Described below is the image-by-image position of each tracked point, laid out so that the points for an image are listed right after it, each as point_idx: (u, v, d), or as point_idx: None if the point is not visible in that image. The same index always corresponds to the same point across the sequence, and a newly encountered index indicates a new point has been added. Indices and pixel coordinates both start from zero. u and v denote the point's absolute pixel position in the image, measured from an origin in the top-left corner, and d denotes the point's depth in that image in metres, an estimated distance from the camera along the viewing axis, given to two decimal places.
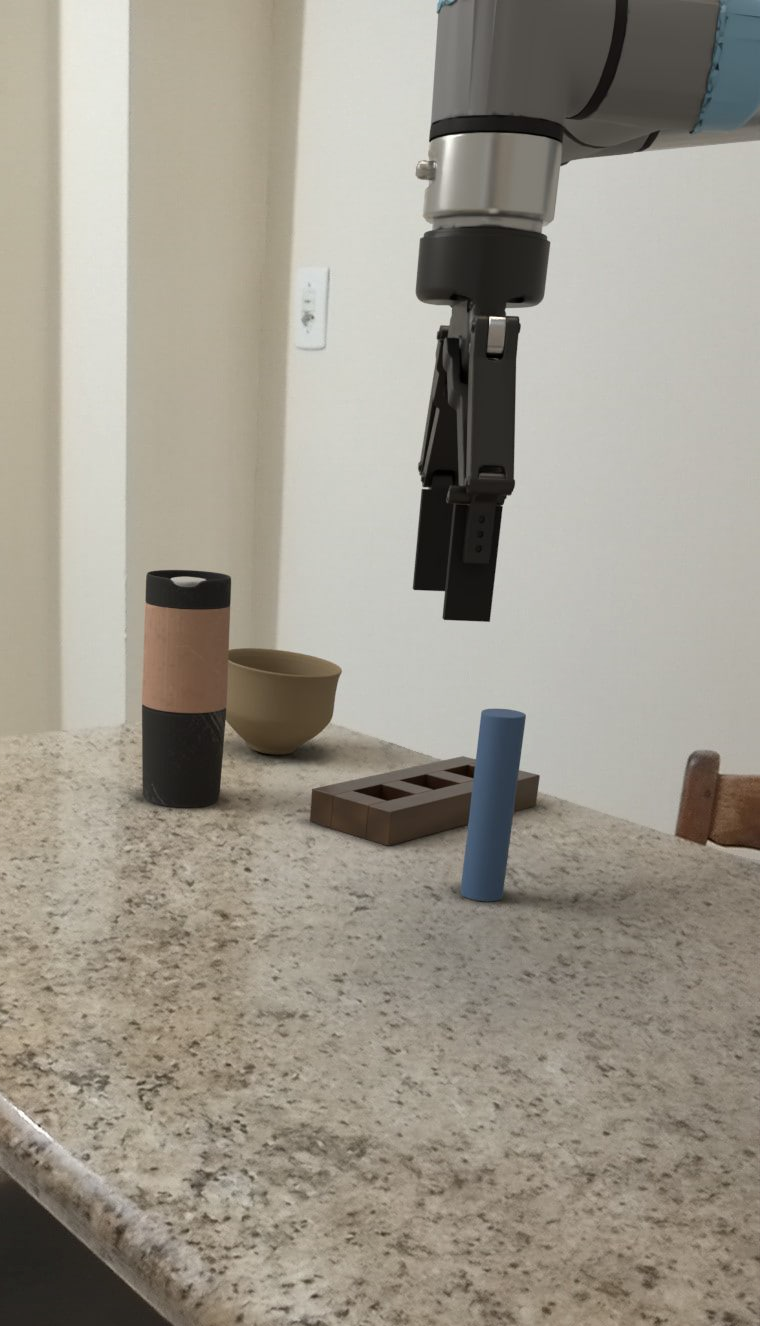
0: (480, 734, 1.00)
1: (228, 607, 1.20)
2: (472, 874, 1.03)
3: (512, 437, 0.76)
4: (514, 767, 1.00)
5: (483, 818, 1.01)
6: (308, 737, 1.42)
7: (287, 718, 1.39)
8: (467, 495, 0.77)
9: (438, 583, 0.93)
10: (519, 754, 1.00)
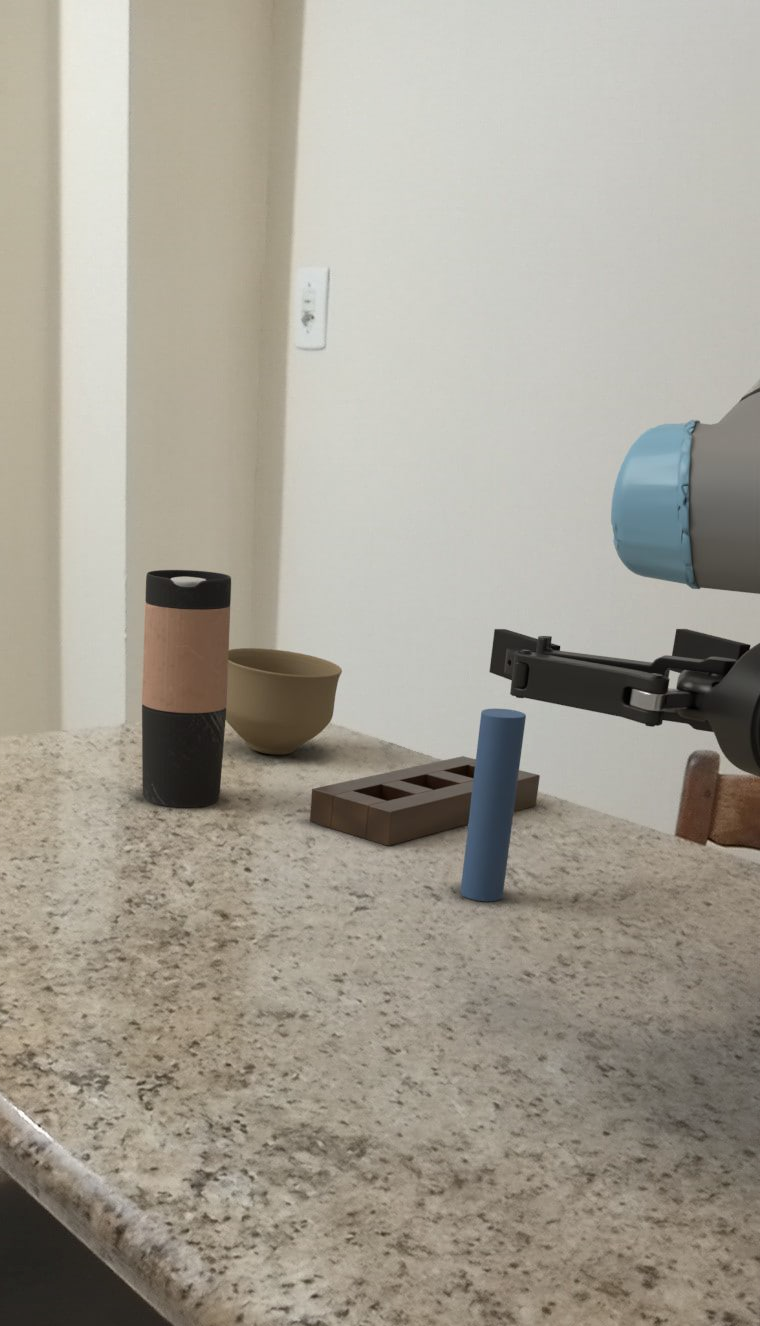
0: (480, 734, 1.00)
1: (228, 607, 1.20)
2: (472, 874, 1.03)
3: None
4: (514, 767, 1.00)
5: (483, 818, 1.01)
6: (308, 737, 1.42)
7: (287, 718, 1.39)
8: None
9: None
10: (519, 754, 1.00)
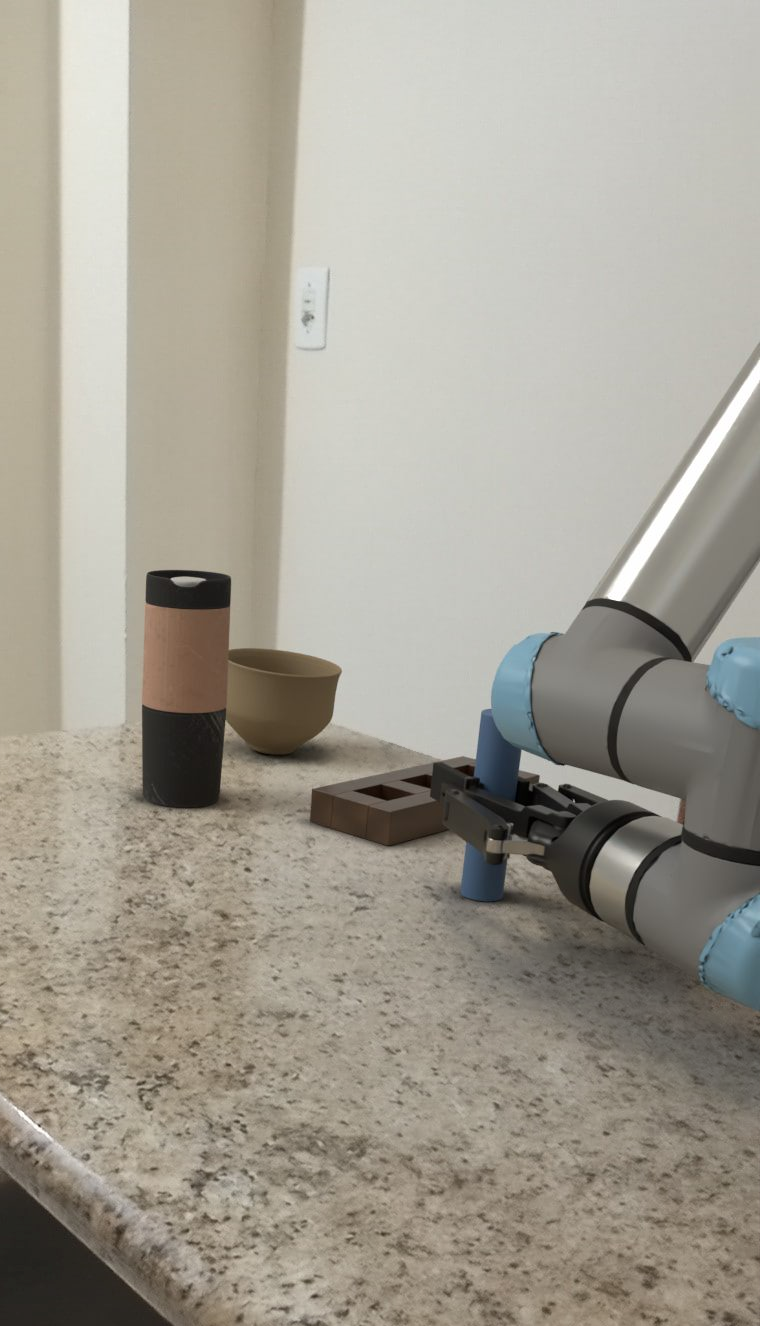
0: (480, 734, 1.00)
1: (228, 607, 1.20)
2: (472, 874, 1.03)
3: None
4: (514, 767, 1.00)
5: None
6: (308, 737, 1.42)
7: (287, 718, 1.39)
8: None
9: None
10: (519, 754, 1.00)
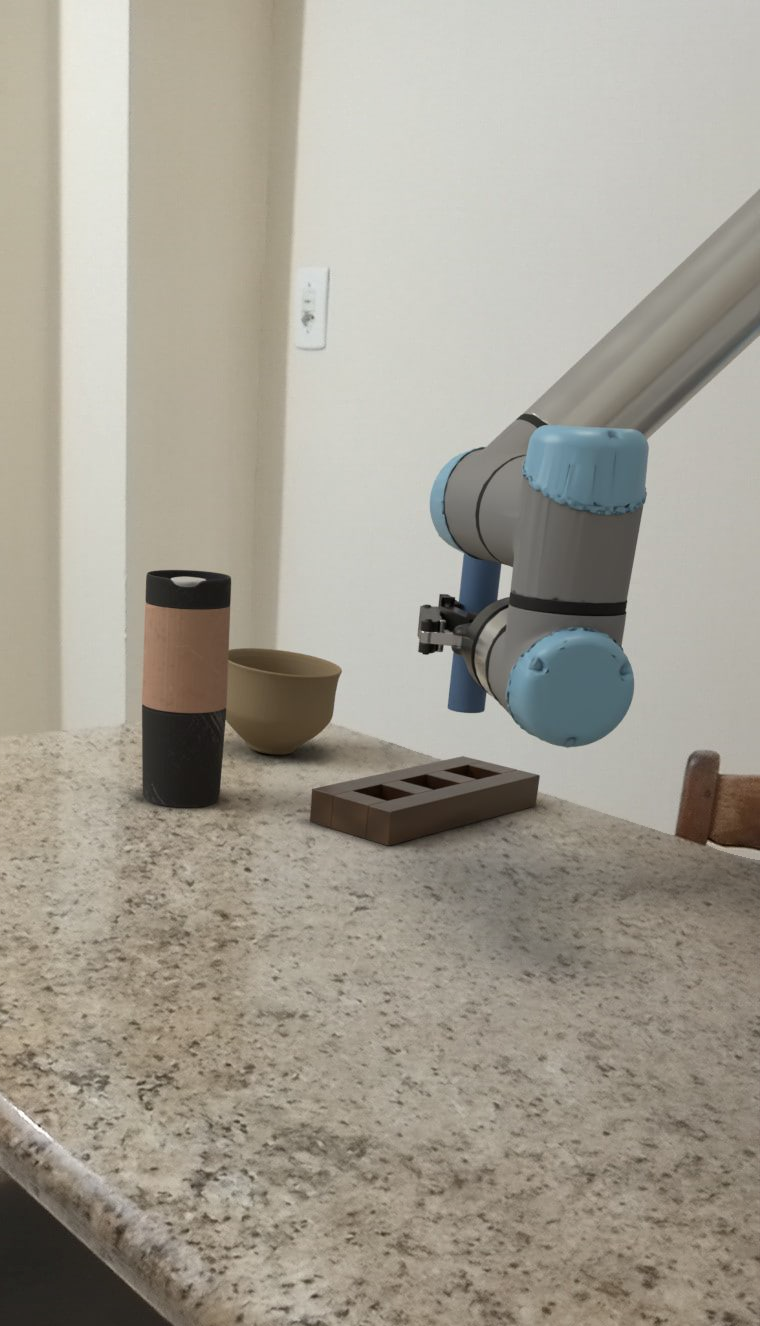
0: (463, 561, 1.15)
1: (228, 607, 1.20)
2: (453, 687, 1.18)
3: None
4: (489, 590, 1.15)
5: None
6: (308, 737, 1.42)
7: (287, 718, 1.39)
8: None
9: None
10: (495, 579, 1.14)
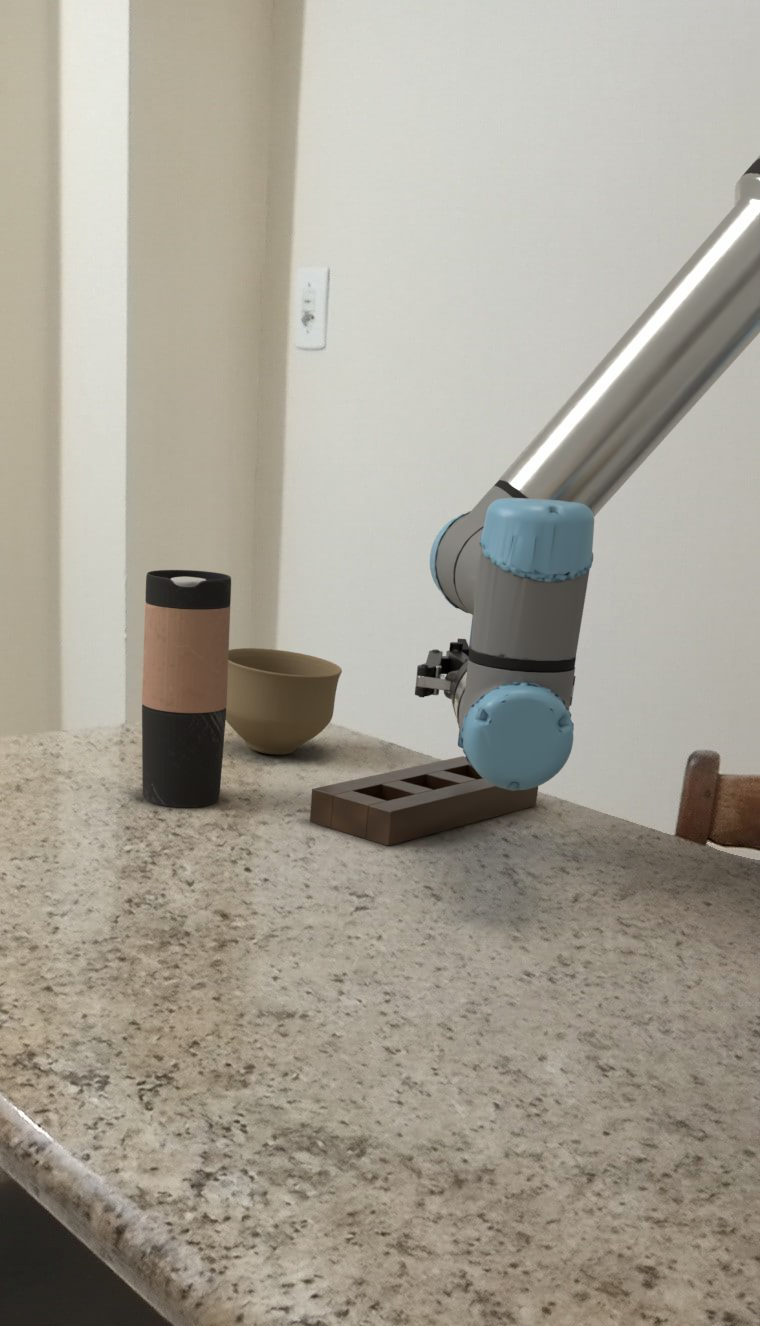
0: None
1: (228, 607, 1.20)
2: None
3: None
4: None
5: None
6: (308, 737, 1.42)
7: (287, 718, 1.39)
8: None
9: None
10: None
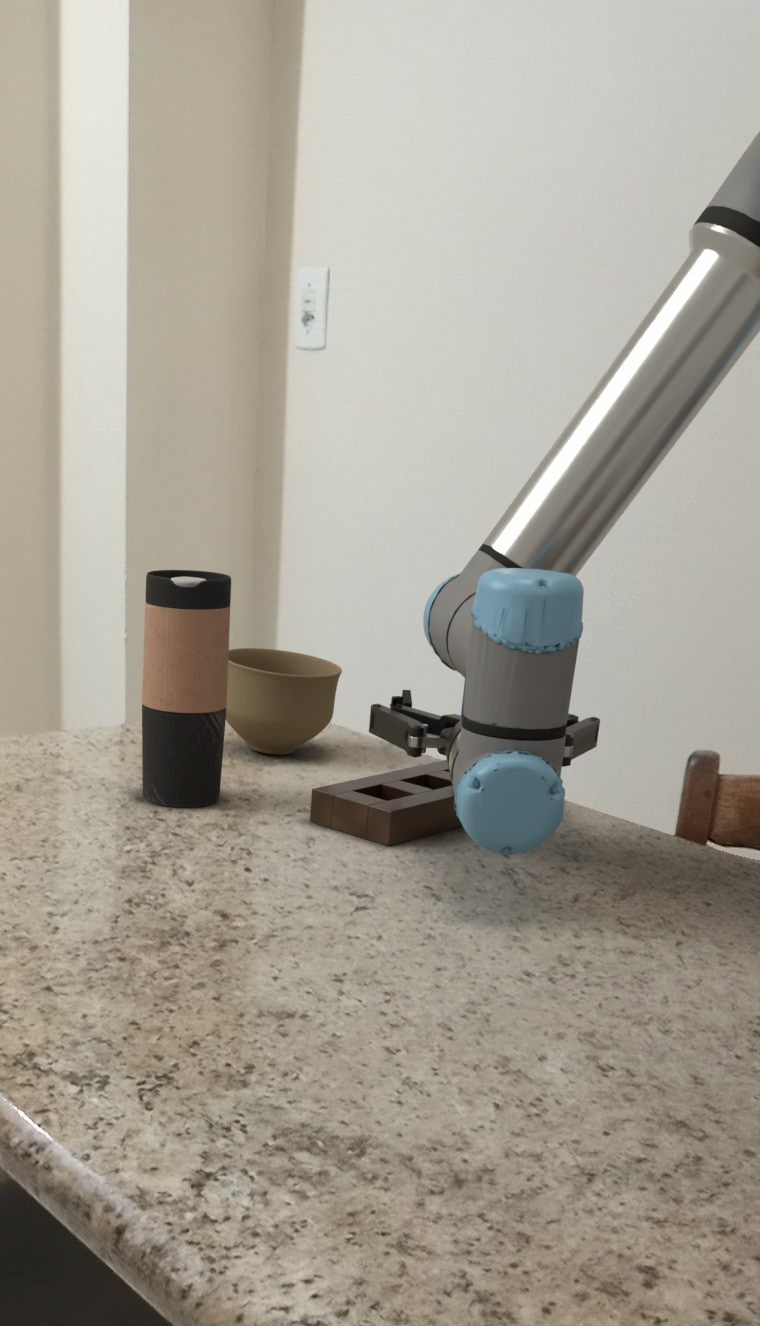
0: None
1: (228, 607, 1.20)
2: None
3: (591, 725, 1.20)
4: None
5: None
6: (308, 737, 1.42)
7: (287, 718, 1.39)
8: None
9: None
10: None
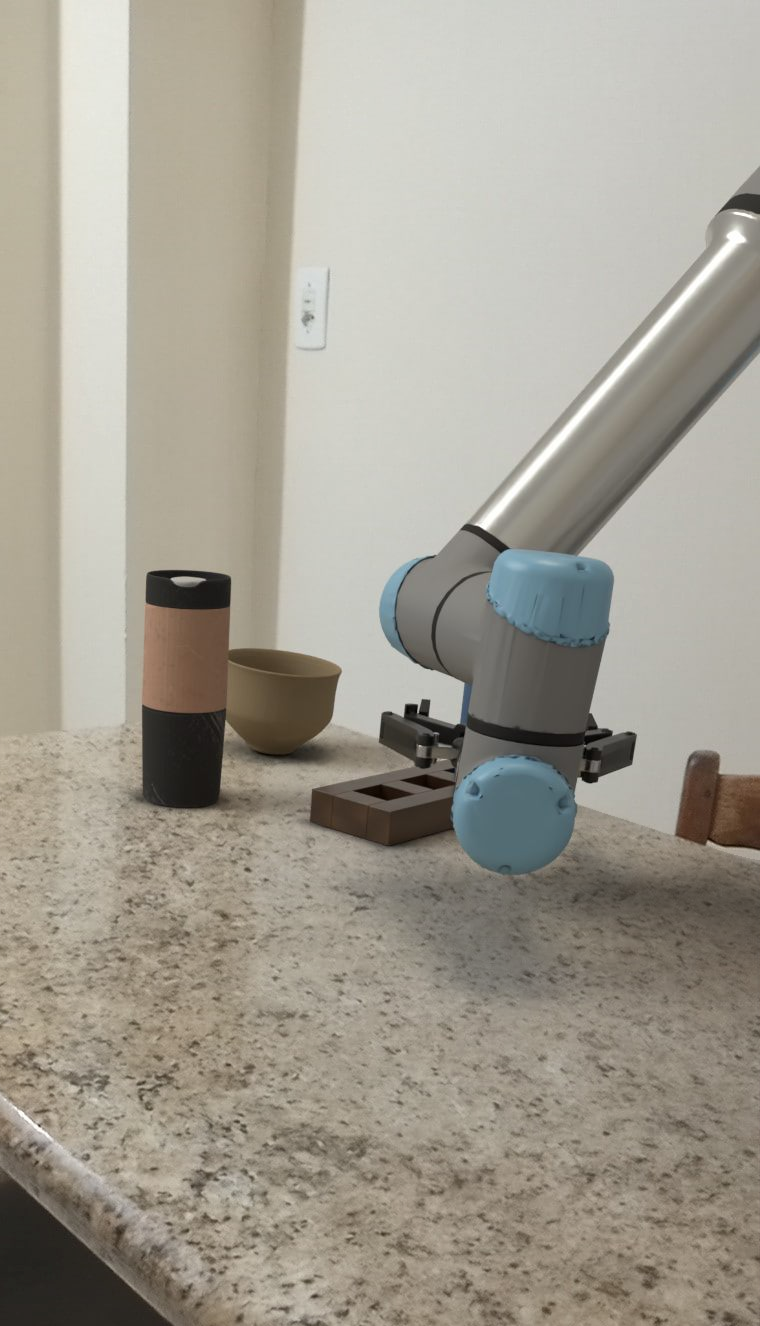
0: None
1: (228, 607, 1.20)
2: None
3: (625, 740, 1.07)
4: None
5: None
6: (308, 737, 1.42)
7: (287, 718, 1.39)
8: None
9: None
10: None
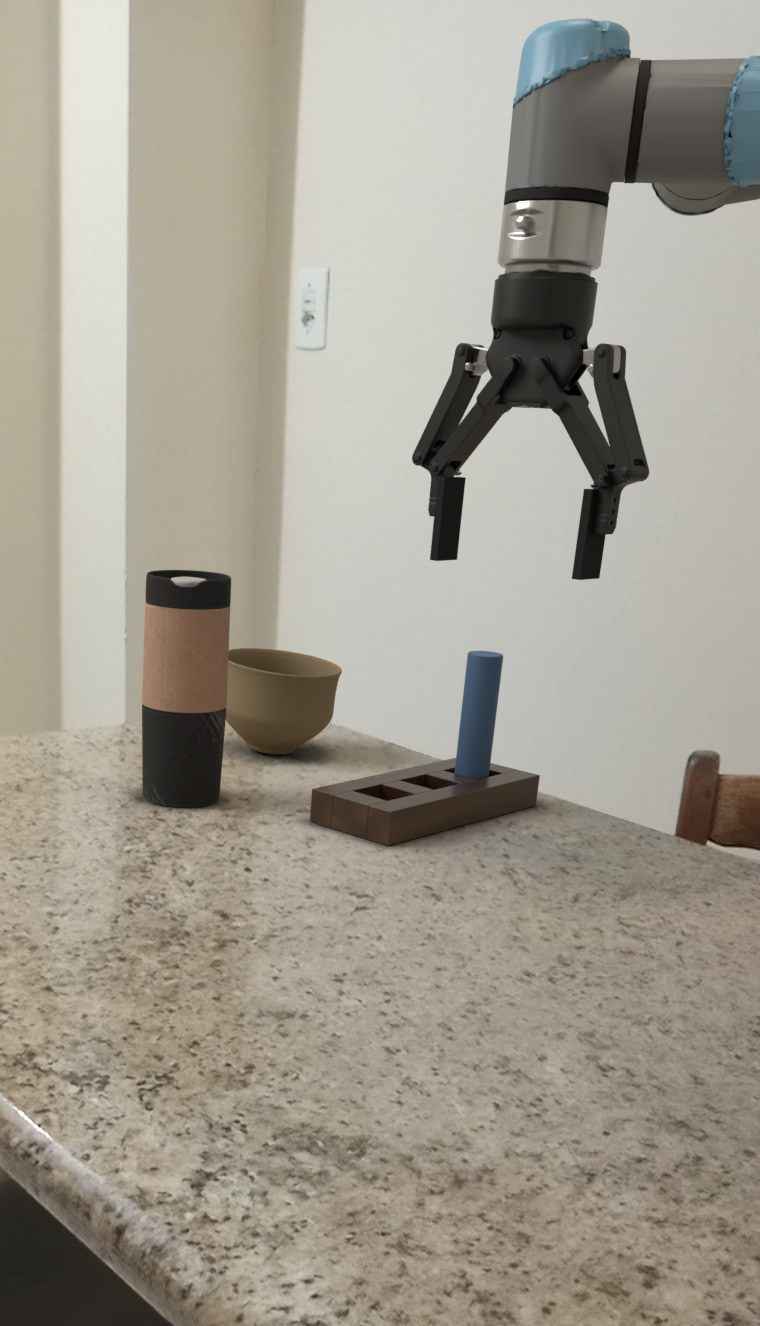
0: None
1: (228, 607, 1.20)
2: None
3: (640, 437, 1.01)
4: (488, 697, 1.25)
5: (463, 737, 1.27)
6: (308, 737, 1.42)
7: (287, 718, 1.39)
8: (610, 482, 1.01)
9: (449, 554, 1.14)
10: (493, 687, 1.25)
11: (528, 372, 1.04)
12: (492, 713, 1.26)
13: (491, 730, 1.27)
